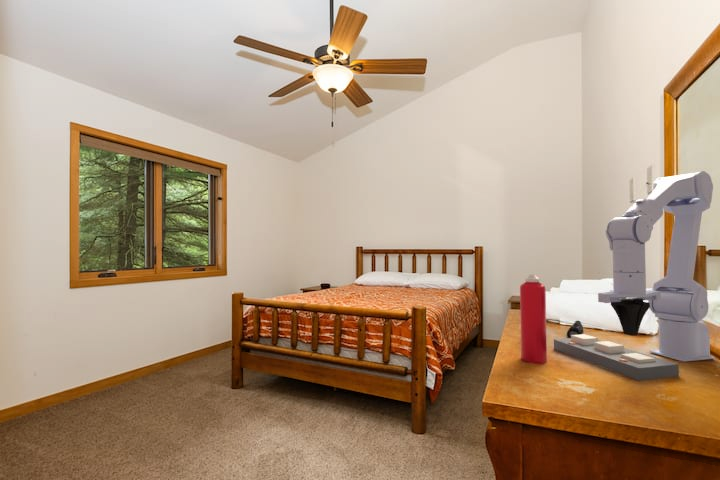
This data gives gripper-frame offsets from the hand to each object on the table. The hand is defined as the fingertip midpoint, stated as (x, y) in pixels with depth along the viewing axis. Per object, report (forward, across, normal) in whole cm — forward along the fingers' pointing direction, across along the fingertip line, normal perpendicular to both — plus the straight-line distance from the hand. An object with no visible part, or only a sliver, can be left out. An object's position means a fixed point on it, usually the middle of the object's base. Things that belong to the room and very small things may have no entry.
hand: (630, 334), depth 80 cm
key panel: (+7, 0, -5) cm, 9 cm away
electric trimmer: (+8, -14, -30) cm, 34 cm away
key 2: (+8, 0, +2) cm, 8 cm away
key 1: (+7, 0, -12) cm, 14 cm away
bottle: (+8, +16, -11) cm, 21 cm away
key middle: (+7, 0, -5) cm, 9 cm away
